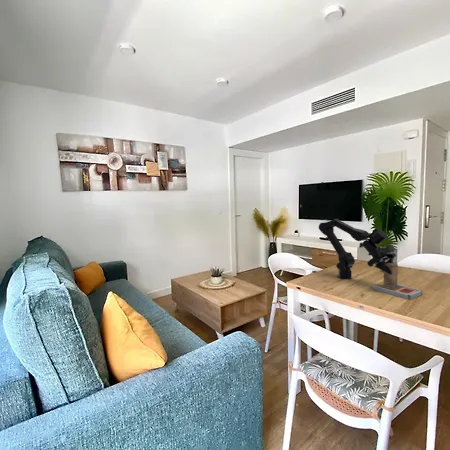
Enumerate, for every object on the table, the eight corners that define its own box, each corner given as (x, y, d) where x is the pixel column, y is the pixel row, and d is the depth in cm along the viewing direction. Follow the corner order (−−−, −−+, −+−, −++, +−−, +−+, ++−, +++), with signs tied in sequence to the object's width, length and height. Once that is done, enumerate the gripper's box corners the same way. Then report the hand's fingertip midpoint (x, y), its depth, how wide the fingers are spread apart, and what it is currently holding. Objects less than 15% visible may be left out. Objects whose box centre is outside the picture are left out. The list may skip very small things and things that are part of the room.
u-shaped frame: (372, 289, 136) (372, 285, 136) (384, 284, 142) (385, 281, 141) (409, 299, 120) (409, 295, 120) (422, 294, 126) (422, 290, 126)
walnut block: (383, 284, 134) (384, 264, 133) (388, 282, 136) (388, 262, 135) (392, 286, 130) (393, 265, 129) (397, 284, 132) (397, 264, 131)
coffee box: (380, 269, 170) (381, 246, 169) (391, 269, 169) (391, 246, 167) (386, 273, 161) (386, 249, 160) (397, 273, 160) (398, 249, 158)
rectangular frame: (394, 294, 127) (394, 291, 127) (404, 290, 132) (404, 287, 132) (408, 298, 122) (408, 294, 122) (417, 294, 126) (417, 290, 126)
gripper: (373, 242, 130) (395, 267, 121) (393, 238, 139) (415, 261, 130) (358, 254, 137) (378, 279, 129) (378, 250, 146) (398, 272, 138)
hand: (393, 272), depth 131 cm, fingers closed on walnut block, 4 cm apart
